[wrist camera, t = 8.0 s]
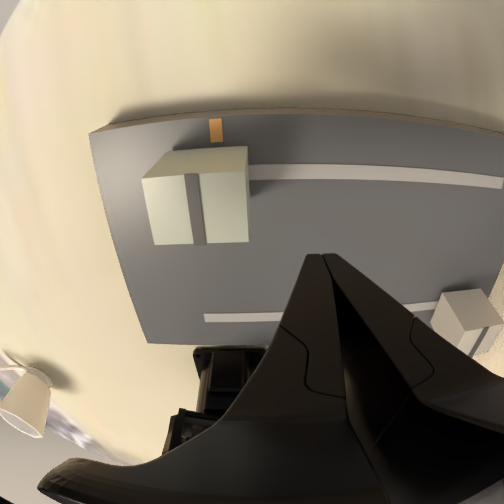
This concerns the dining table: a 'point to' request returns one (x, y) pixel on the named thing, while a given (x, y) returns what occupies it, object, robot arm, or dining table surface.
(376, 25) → the dining table surface
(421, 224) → the console
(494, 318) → the block
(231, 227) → the sage fader
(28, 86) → the dining table surface
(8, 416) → the cup
